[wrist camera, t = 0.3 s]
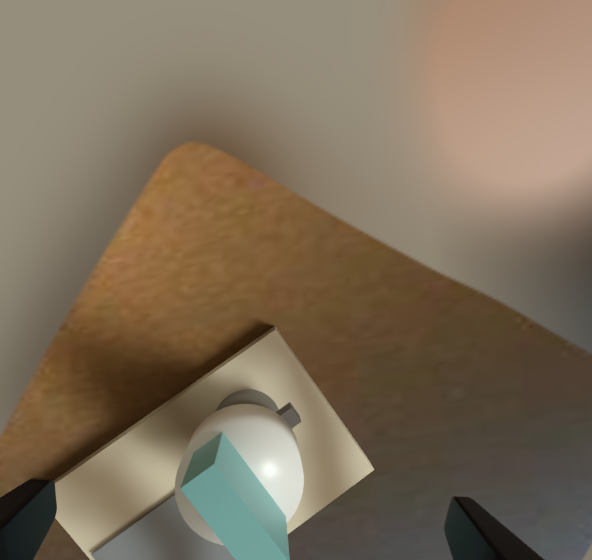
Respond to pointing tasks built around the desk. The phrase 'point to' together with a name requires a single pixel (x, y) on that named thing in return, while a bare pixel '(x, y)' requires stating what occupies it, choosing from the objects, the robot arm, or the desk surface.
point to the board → (172, 445)
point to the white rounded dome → (242, 481)
